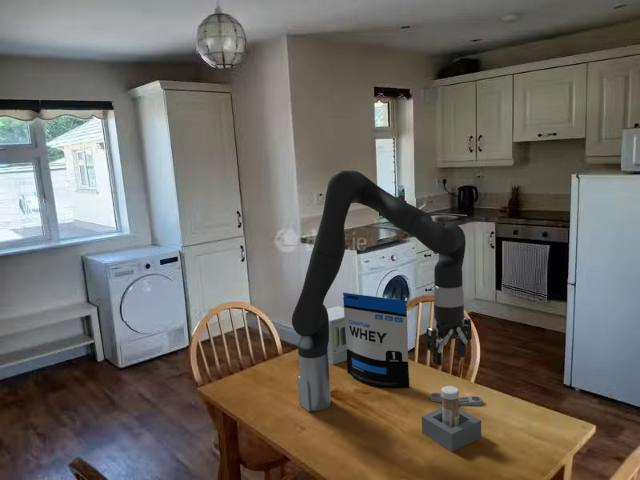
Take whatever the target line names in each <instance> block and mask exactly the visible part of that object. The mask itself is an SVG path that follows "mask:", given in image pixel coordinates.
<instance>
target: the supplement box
mask: <svg viewBox="0 0 640 480" xmlns="http://www.w3.org/2000/svg"><path fill="white" fill-rule="evenodd" d="M326 309H327V312H328V318H329V342H328V364H331V365H332V366H334V365H336V364H339V363H342V362H345V361H346V362H347V347H346V333H345V319H344V307H342V306H339V305H337V306H334V307H330V308H326Z"/></svg>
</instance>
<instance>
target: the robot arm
mask: <svg viewBox="0 0 640 480" xmlns="http://www.w3.org/2000/svg"><path fill="white" fill-rule="evenodd" d="M355 203H357V204H359V205H362V206H366V207H368V208H370V209H372V210H374V211H375V212H377V213H378V214H380V215H381V216H383V218H384V219H385V220H387V222H388V223H390V224H392V225H393V226H394V227H396V228H398V229H399V230H402V232H405V233H407V234H408V235H410V236H412V237H414V238H416V239H417V241H419V243H421V244H422V245H424V246H425V247H426V248H427V249H429V250H431V252H434V253H436V254H438V259H437V262H436V264H435V266H434V269H433V271H434V280H433V281H434V289H433V313H434V314H433V317H434V320H435V322H436V324H435V327H429V326H428V327H427V328H426V332H425V333H426V337H425V340H426V341H425V344H426V345H425V349H426V350H427V351H430V352H431V353H432V362H433V363H434V366H435V365H436V366H438V367H440V366H441V367H442V366H443V353H442V351H443V348H444V346H446V345H447V343H448V342H450V341H452V340H456V341H457V342H456V352H457V353H456V355H457V357H460V358H465V357H466V354H467V343H468V341H471V340H472V339H473V336H472V333H473V332H472V320H471V318H468V317H465V298H464V295H465V293H464V287H463V265H464V258H465V252H466V244H467V243H466V234H465V232H464V230H463V229H462V227H460V226H459V225H458V224H455V223H448V224H446V225H441V224H439V223H437V222H435V221H434V220H433V218H432V216H431V215H430V214H429V213H428V212H425V211H424V210H422V209H420V208H419V207H416V206H414V205H413V204H410V203H408V202H406V201H405V200H403V199H401V198H398V197H396V196H394V195H393V194H391V193H389V192H388V191H386V190H384V189H383V188H381V186H379V185H378V184H376V183H375V182H373V181H372V180H371V179H369V178H368V177H366V175H364V174H363V173H362V172H360V171H356V170H339V171H337V172H335V173H334V174H332V175H331V177H330V178H329V181H328V184H327V188H326V193H325V198H324V206H323V210H322V211H323V212H322V215H321V219H320V223H319V227H318V231H317V234H316V238H315V242H314V244H313V247H312V250H311V255H310V258H309V262H308V267H307V269H306V270H307V271H306V274H305V278H304V282H303V286H302V290H301V293H300V296H299V298H298V300H297V303H296V306H295V307H294V310H293V313H292V316H291V326H292V328H293V330H294V331H295V332H296V334H297V335H299V336H300V339H299V342H298V344H297V355H298V356H297V357H298V367H299V368H298V369H299V371H298V372H299V375H298V376H297V390H298V391H297V392H298V401H299V403H298V404H299V405H300V406H301V407H302V408H303V409H305V410H306V411H307V412H308V413H309V412H318V411H323V410H326V409H328V408H329V407H330V406H331V404H332V401H331V400H332V398H331V397H332V396H331V383H330V366H329V364H330V363H328V342H329V318H328V312H327V309H328V308H326V305H325V304H324V302H325V298H326V297H327V294H328V292H329V290H330V289H331V286H332V285H333V283H334V281H335V280H336V278H337V276H338V274H339V273H340V269H341V266H342V262H343V259H344V257H345V252H346V235H345V233H346V232H345V225H346V224H345V223H346V219H347V216H348V213H349V209H350V207H351V204H355Z"/></svg>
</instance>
